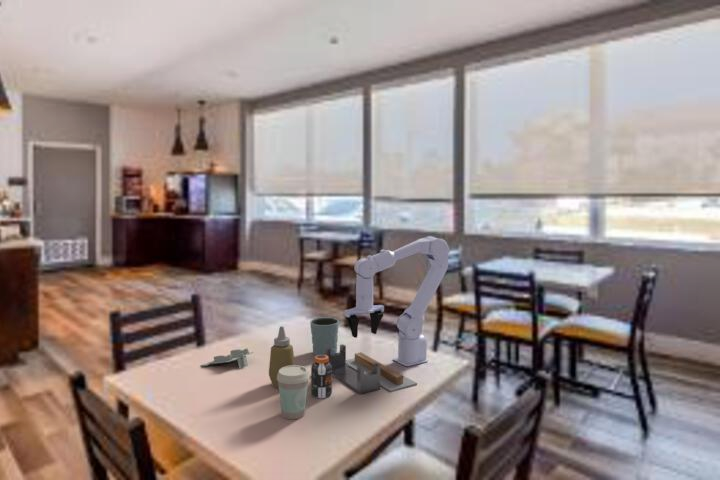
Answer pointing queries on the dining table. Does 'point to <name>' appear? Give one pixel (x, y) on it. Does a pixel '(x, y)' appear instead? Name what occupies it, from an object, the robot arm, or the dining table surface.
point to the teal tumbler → (324, 335)
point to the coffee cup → (293, 390)
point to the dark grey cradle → (353, 373)
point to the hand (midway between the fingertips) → (364, 335)
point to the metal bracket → (232, 358)
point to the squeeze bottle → (280, 356)
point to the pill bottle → (321, 377)
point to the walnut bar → (384, 370)
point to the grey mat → (383, 381)
